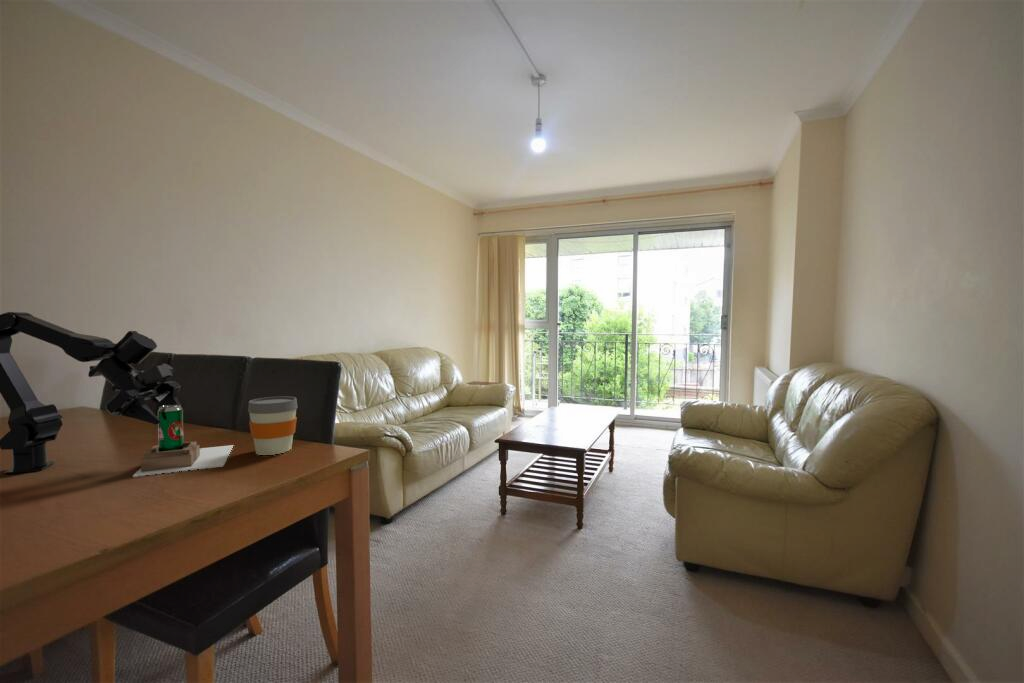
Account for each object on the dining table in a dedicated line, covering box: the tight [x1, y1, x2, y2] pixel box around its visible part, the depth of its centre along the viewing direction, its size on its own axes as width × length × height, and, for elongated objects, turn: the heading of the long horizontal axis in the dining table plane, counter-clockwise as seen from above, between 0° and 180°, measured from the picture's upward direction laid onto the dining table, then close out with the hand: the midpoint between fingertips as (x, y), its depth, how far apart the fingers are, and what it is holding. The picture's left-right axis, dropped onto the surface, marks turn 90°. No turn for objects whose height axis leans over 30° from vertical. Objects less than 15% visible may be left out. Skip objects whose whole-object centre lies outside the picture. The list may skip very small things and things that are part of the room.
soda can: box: [157, 404, 185, 452], centre depth 110 cm, size 5×5×12 cm
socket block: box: [140, 440, 201, 472], centre depth 110 cm, size 10×10×5 cm
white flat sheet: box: [132, 444, 235, 478], centre depth 114 cm, size 20×18×1 cm
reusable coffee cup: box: [247, 395, 298, 456], centre depth 122 cm, size 13×13×15 cm
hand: (171, 419), depth 110 cm, fingers open, 9 cm apart
